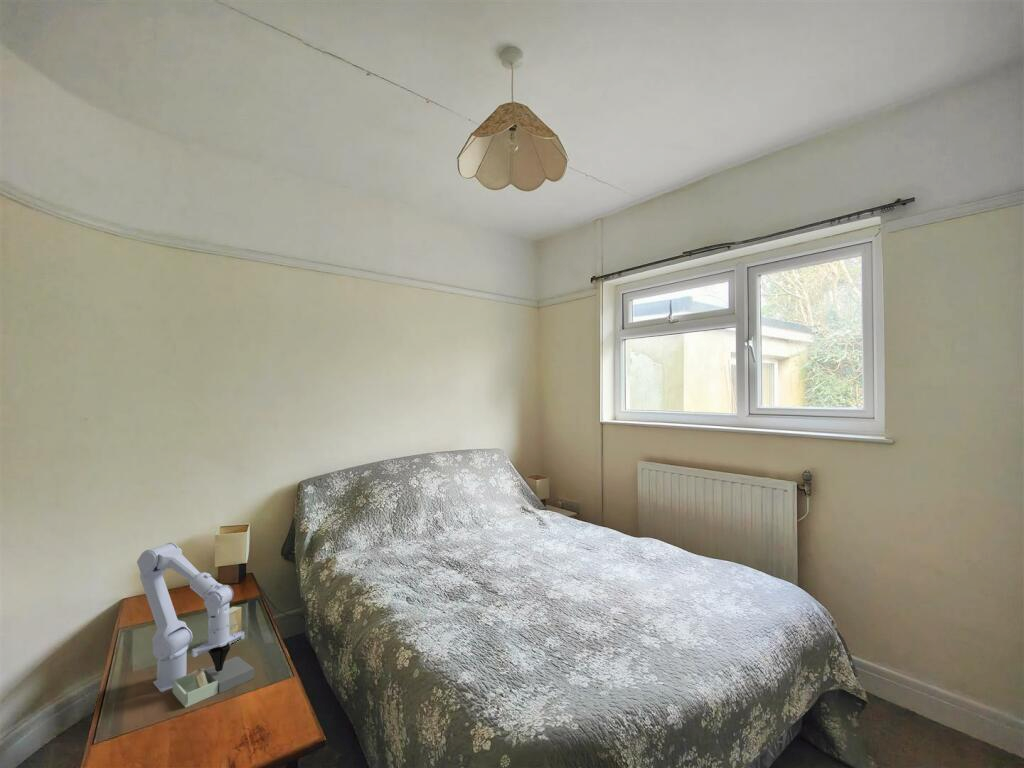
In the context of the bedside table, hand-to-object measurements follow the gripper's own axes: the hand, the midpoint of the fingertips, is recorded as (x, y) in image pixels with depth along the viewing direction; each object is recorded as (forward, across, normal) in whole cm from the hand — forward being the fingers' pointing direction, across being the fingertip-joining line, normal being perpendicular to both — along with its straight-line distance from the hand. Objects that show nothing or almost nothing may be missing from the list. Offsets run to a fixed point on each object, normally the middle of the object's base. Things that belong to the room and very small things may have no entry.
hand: (218, 670), depth 145 cm
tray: (+4, -7, 0) cm, 8 cm away
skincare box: (+4, +13, +28) cm, 31 cm away
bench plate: (+4, +3, 0) cm, 5 cm away
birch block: (+1, -5, 0) cm, 5 cm away
